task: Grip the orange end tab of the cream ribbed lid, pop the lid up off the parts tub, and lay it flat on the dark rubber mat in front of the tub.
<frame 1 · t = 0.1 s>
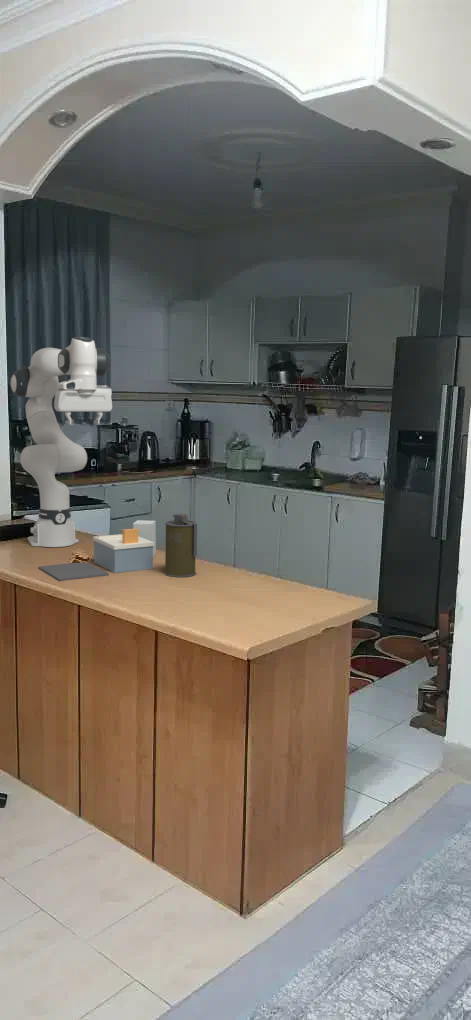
hand: (83, 424, 276), 48 cm above the counter, fingers open, 8 cm apart
canister: (180, 574, 264), on the counter
mat: (73, 571, 264), on the counter
supplement box: (144, 555, 292), on the counter
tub: (123, 565, 274), on the counter
lid: (123, 542, 273), point 8 cm above the counter, touching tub
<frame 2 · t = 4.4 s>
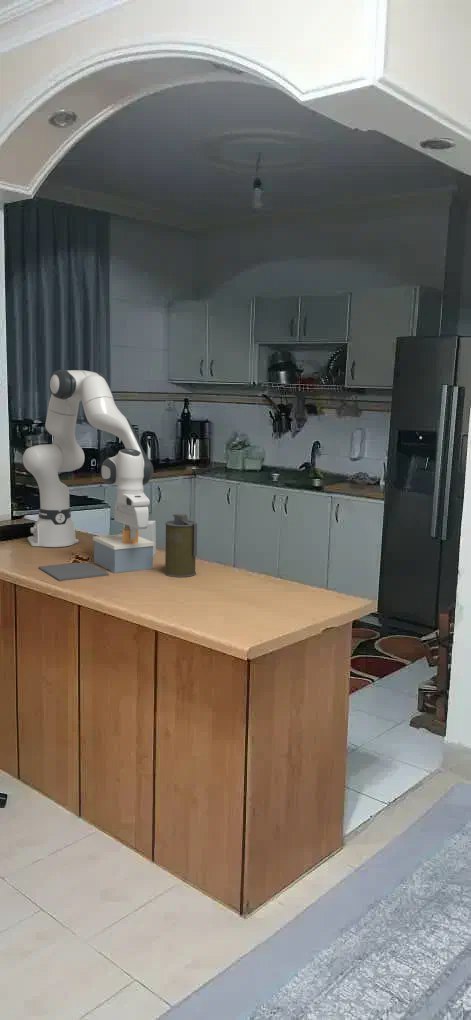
hand: (130, 538, 268), 11 cm above the counter, fingers closed on lid
lid: (123, 542, 273), point 8 cm above the counter, touching gripper, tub
everything else where it was.
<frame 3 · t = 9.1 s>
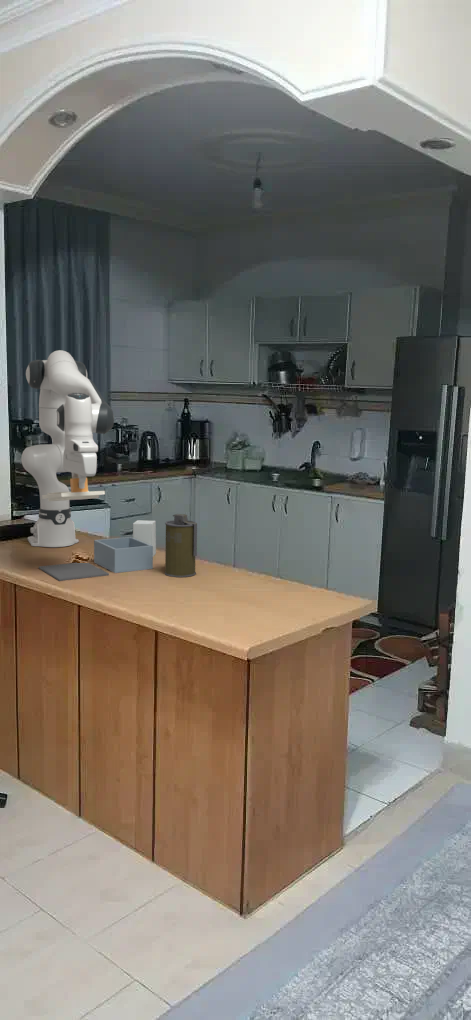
hand: (79, 487, 254), 29 cm above the counter, fingers closed on lid, 2 cm apart
lid: (73, 496, 259), point 25 cm above the counter, tilted 9°, touching gripper
everything else where it was.
when the fingers open (6 cm above the counter, at t = 14.0 s): lid drops 1 cm, resting on mat.
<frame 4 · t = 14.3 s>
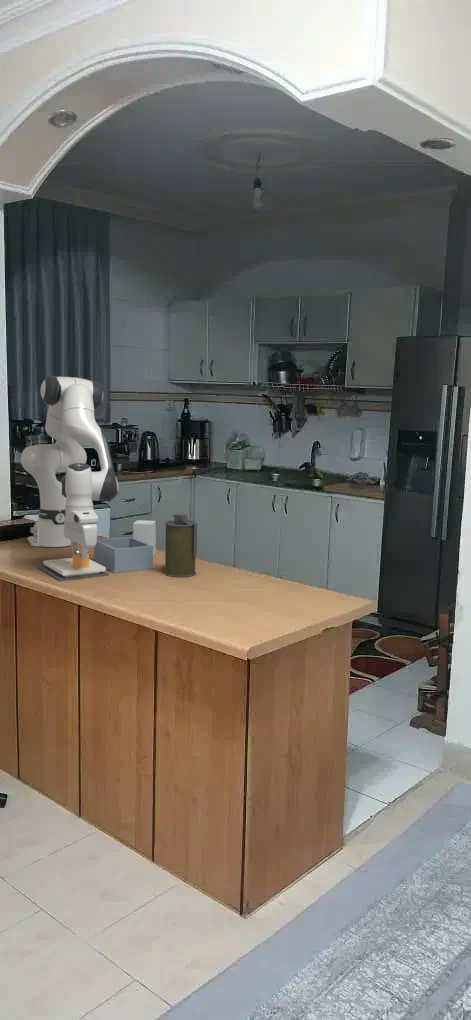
hand: (79, 556, 258), 6 cm above the counter, fingers open, 6 cm apart
lid: (74, 567, 263), point 2 cm above the counter, touching mat
everything else where it was.
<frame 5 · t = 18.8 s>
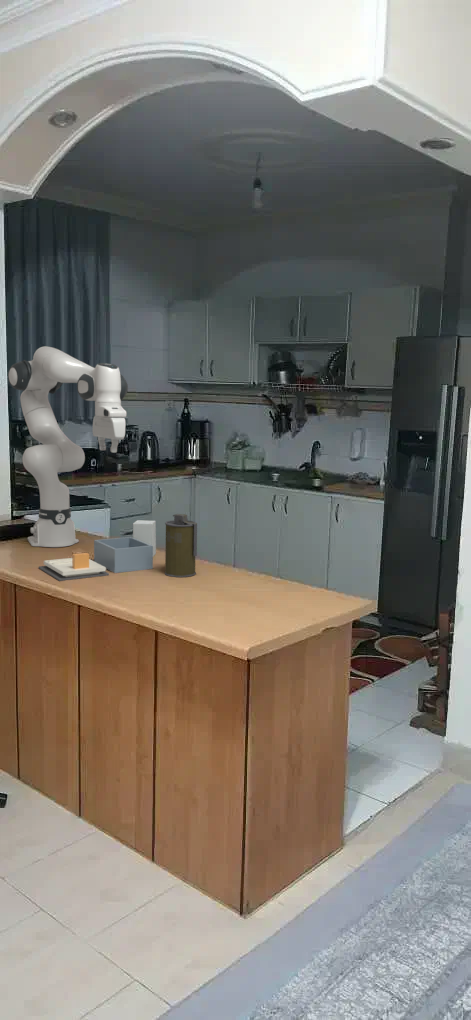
hand: (108, 451, 274), 39 cm above the counter, fingers open, 8 cm apart
nothing on the counter moved.
at the end: lid inside the target area on the mat (0.9 cm from its centre), point 1.6 cm above the mat's base; lid tilted 0°; the gripper is holding nothing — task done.
